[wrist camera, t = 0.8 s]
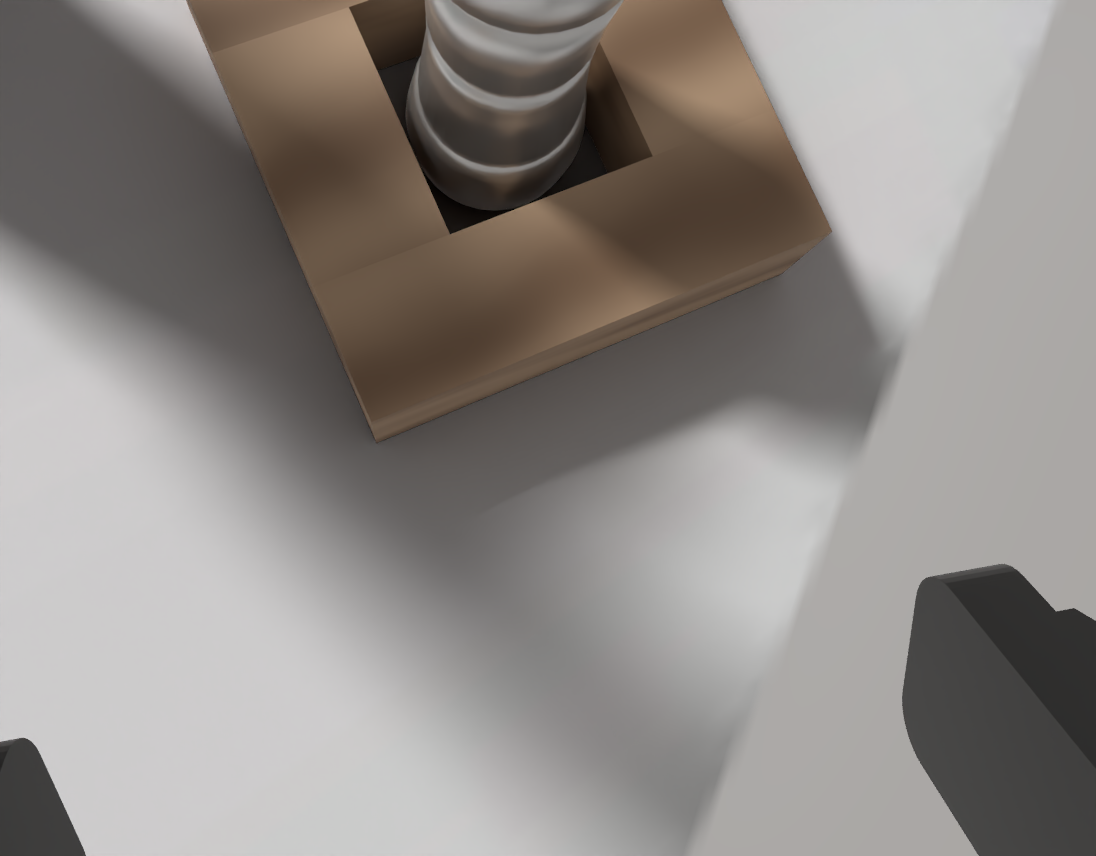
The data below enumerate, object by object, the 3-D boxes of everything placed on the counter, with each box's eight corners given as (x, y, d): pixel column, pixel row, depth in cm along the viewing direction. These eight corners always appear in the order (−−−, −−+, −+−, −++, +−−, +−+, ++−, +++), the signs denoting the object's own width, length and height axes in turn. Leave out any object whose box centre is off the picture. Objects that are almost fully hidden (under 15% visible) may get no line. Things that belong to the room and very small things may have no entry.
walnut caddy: (189, 8, 40) (157, -74, 35) (593, -125, 43) (617, -218, 38) (376, 443, 38) (371, 422, 33) (781, 273, 41) (832, 231, 36)
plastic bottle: (379, 190, 39) (348, -201, 20) (443, 36, 41) (473, -475, 21) (539, 252, 40) (663, -69, 20) (597, 98, 41) (768, -345, 22)
